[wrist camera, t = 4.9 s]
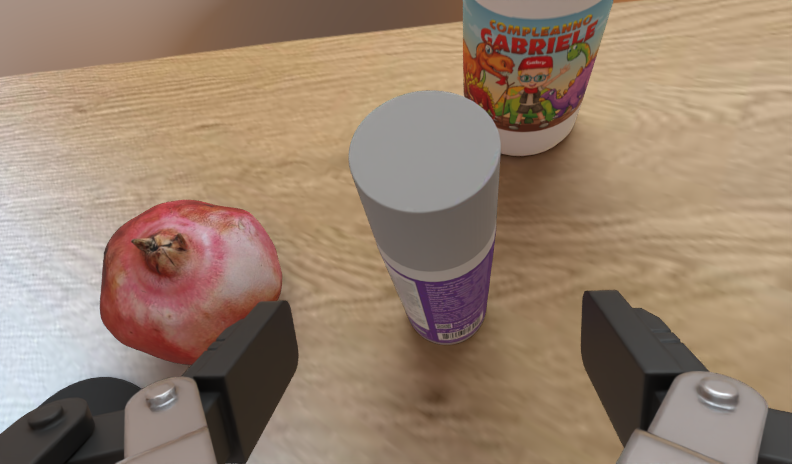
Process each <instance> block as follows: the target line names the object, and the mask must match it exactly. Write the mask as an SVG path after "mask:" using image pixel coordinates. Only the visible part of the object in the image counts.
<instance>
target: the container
mask: <svg viewBox="0 0 792 464" xmlns="http://www.w3.org/2000/svg"><path fill="white" fill-rule="evenodd" d="M500 155H501V141H500V136H499V132H498V130H497V127H496V125H495V123H494V122H493V120H492V118H491V117H490V116H489V115H488V113H487V112H486V111H485V110H484V109H482V108H481V107H480V106H479V105H477V104H476V103H475V102H473V101H471V100H469V99H467V98H465V97H463V96H460V95H457V94H454V93H449V92H444V91H417V92H412V93H407V94H404V95H401V96H398V97H395V98H393V99H391V100H389V101H387V102H385V103H383V104H382V105H380V106H379V107H377V108H376V109H374V110H373V111H372V112H371V113H370V114H369V115H368V116H367V117H366V118H365V119H364V120H363V121H362V122H361V124H360V125H359V126H358V128H357V130H356V131H355V133H354V136H353V138H352V141H351V144H350V148H349V167H350V171H351V174H352V177H353V179H354V182H355V185H356V188H357V191H358V193H359V196H360V199H361V202H362V204H363V207H364V210H365V213H366V215H367V218H368V221H369V224H370V226H371V229H372V232H373V235H374V237H375V240H376V243H377V246H378V249H379V251H380V253H381V256H382V258H383V260H384V263H385V265H386V267H387V270H388V272H389V274H390V277H391V279H392V281H393V283H394V286H395V288H396V290H397V293H398V295H399V297H400V300H401V302H402V304H403V307H404V309H405V311H406V314H407V316H408V318H409V321H410V322H411V324H412V326H413V328H414V329H415V330H416V331H417V333H419V334H420V335H421V336H422V337H423V338H425V339H427V340H428V341H431V342H433V343H436V344H442V345H451V344H457V343H460V342H463V341H465V340H467V339H468V338H470V337H471V336H472V335H474V334H475V333H476V332H477V330H478V329H479V328H480V326H481V324H482V322H483V320H484V317H485V313H486V307H487V299H488V291H489V283H490V275H491V267H492V259H493V251H494V243H495V235H496V218H497V202H498V186H499V170H500Z"/></svg>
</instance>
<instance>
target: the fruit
mask: <svg viewBox="0 0 792 464" xmlns="http://www.w3.org/2000/svg"><path fill="white" fill-rule="evenodd" d="M281 287H282V272H281V268H280V264H279V261H278V256H277V252H276V249H275V246H274V244H273V242H272V240H271V239H270V237H269V235H268V234H267V232H266V231H265V229H264V228H263V227H262V225H261V224H260V223H259V222H258V220H257V219H256V218H255V217H254V216H253V215H252V214H250V213H249V212H247V211H245V210H242V209H238V208H231V207H223V206H217V205H213V204H209V203H205V202H202V201H196V200H178V201H171V202H166V203H162V204H159V205H156V206H154V207H152V208H150V209H149V210H147V211H145V212H143V213H142V214H140V215H138V216H137V217H135V218H133V219H131V220H130V221H128V222H127V223H125V224H124V225H123V226H121V227H120V228H119V229H118V230H117V231H116V232H115V233H114V234H113V236H112V237H111V239H110V240H109V242H108V244H107V246H106V248H105V252H104V260H103V270H102V285H101V296H100V315H101V319H102V321H103V324H104V325H105V326H106V328H107V329H108V330H109V331H110V332H111V333H112V335H113V336H114V337H115V338H116V339H117V340H119V341H120V342H121V343H122V344H124V345H126V346H128V347H131V348H134V349H136V350H140V351H142V352H145V353H147V354H150V355H152V356H155V357H157V358H160V359H163V360H167V361H170V362H174V363H180V364H187V365H192V364H193V363H194V362H195V361H196V360H197V359H198V358H199V357H200V356H201V355H202V354H203V352H204V351H207V348H208V347H209V346H210V345H211V344H212V343H213V342H216V339H217V337H218V336H219V335H220V334H221V333H222V332H223V331H224V330H225V329H226V328H227V327H229V326H231V325H232V324H234V323H236V322H237V321H239V320H241V319H244V318H245V317H246V316H247V315H248V314H249V313H250V311H251V310H252V309H253V308H254V307H255V306H256V305H257V304H258V303H259V302H260V301H277V300H278V298H279V295H280V292H281Z"/></svg>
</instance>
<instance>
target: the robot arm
mask: <svg viewBox="0 0 792 464" xmlns="http://www.w3.org/2000/svg"><path fill="white" fill-rule="evenodd" d="M581 354H582V360H583V364H584V367H585V370H586V372H587V374H588V376H589V378H590V380H591V382H592V384H593V386H594V388H595V390H596V392H597V394H598V396H599V398H600V400H601V402H602V404H603V406H604V408H605V410H606V412H607V414H608V416H609V418H610V421H611V423H612V425H613V427H614V429H615V431H616V433H617V435H618V437H619V439H620V441H621V443H622V445H623V447H624V450H623V451H622V453H621V455H620V457H619V459H618V460H617V462H616V464H792V413H790V412H785V411H780V410H775V409H771V408H768V405H767V403H766V401H765V399H764V398H763V397H762V396H761V395H760V394H759V393H758V392H757V391H756V390H754V389H753V388H752V387H750V386H748V385H747V384H745V383H743V382H741V381H739V380H736V379H734V378H731V377H728V376H725V375H721V374H718V373H712V372H709V371H708V370H707V368H706V367H705V366H704V365H703V364H702V363H701V362H700V361H699V360H698V359H697V358H696V357H695V356H694V354H693V353H692V352H691V351H690V350H689V349H688V348H687V347H686V346H685V345H684V344H683V343H681V342H680V339H679V338H678V337H677V336H676V335H675V334H674V333H671V330H670V329H669V328H668V327H667V325H666V324H665V323H664V322H663V321H662V320H661V319H660V318H659V317H657V316H655V315H653V314H651V313H649V312H647V311H646V310H644V309H642V308H632V307H631V306H630V305H629V303H628V302H627V301H626V300H625V299H624V298H623V296H622V295H621V294H620V293H619V292H618V291H617V290H598V291H585V292H584V294H583V300H582V326H581ZM297 365H298V346H297V341H296V335H295V330H294V324H293V318H292V313H291V308H290V305H289V303H288V302H287V301H260V302H259V303H258V304H257V305H256V306H255V307H254V308H253V309H252V310H251V311H250V313H249V314H248V315H247V316H246V317H245V318H244V319H241V320H239V321H237V322H236V323H234V324H232V325H231V326H229V327H227V328H226V329H225V330H224V331H223V332H222V333H221V334H220V335H219V336H218V337H217V339H216V342H213V343H212V344H211V345H210V346H209V347H208V348H207V351H204V352H203V354H202V355H201V356H200V357H199V358H198V359H197V360H196V361H195V362H194V363H193V364H192V365H191V366H190V367H189V369H188V370H187V371H186V372H185V373H184V374H183V375H182V376H181V377H171V378H167V379H163V380H160V381H157V382H155V383H153V384H150V385H148V386H147V387H145V388H143V389H142V390H140V391H139V392H137V393H136V394H135V395H134V396H133V397H132V398H131V399H130V400H129V401H128V403H127V404H126V406H125V410H120V411H115V412H111V413H106V414H101V415H97V416H92V415H91V412H90V409H89V407H88V404H87V401H86V400H84V399H82V398H65V399H61V400H57V401H54V402H51V403H48V404H45V405H43V406H41V407H39V408H36V409H34V410H33V411H31V412H29V413H27V414H26V415H24V416H23V417H21V418H20V419H18V420H17V421H16V422H15V423H13V424H12V425H11V426H10V427H8V428H7V429H6V430H5V431H3V432H2V433H1V434H0V464H246V462H247V460H248V458H249V457H250V455H251V453H252V451H253V449H254V447H255V445H256V444H257V442H258V440H259V438H260V436H261V434H262V432H263V431H264V429H265V427H266V425H267V423H268V421H269V420H270V418H271V416H272V414H273V412H274V410H275V408H276V407H277V405H278V403H279V401H280V399H281V397H282V396H283V394H284V392H285V390H286V388H287V386H288V384H289V383H290V381H291V379H292V377H293V375H294V373H295V371H296V369H297Z"/></svg>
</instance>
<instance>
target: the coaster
mask: <svg viewBox="0 0 792 464" xmlns="http://www.w3.org/2000/svg"><path fill="white" fill-rule="evenodd" d="M140 390H142V389H140V388H139V387H138V386H136V385H134V384H133V383H131V382H128V381H125V380H122V379H117V378H112V377H97V378H90V379H86V380H83V381H79V382H77V383H74V384H72V385H69V386H68V387H66V388H64V389H62V390H60V391H58V392H57V393H56V394H54V395H53V396H51V397H50V398H48V399H47V400H46V401H45V402H43V403H42V404H41V405H40V406H39V407H41V406H43V405H45V404H48V403H51V402H54V401H57V400H61V399H65V398H82V399H84V400H86V401H87V404H88V407H89V409H90V412H91V415H92V416H97V415H101V414H106V413H111V412H115V411H120V410H125V406H126V404H127V403H128V401H129V400H130V399H131V398H132V397H133V396H134V395H135V394H136V393H137V392H139V391H140ZM39 407H38V408H39Z"/></svg>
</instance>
